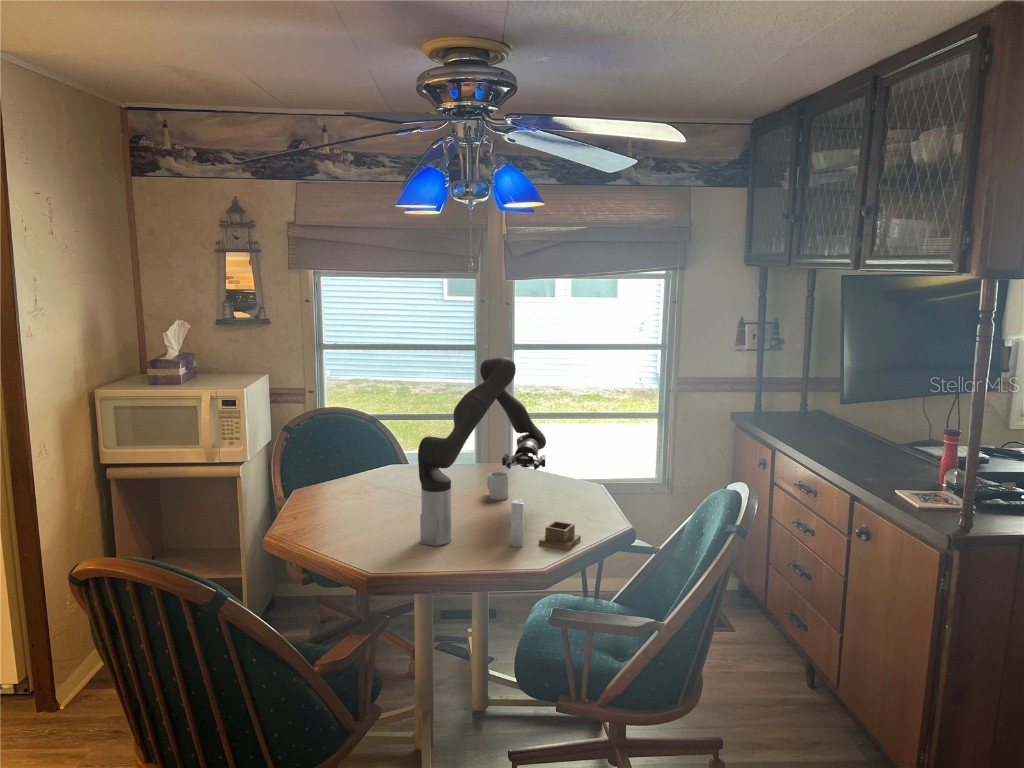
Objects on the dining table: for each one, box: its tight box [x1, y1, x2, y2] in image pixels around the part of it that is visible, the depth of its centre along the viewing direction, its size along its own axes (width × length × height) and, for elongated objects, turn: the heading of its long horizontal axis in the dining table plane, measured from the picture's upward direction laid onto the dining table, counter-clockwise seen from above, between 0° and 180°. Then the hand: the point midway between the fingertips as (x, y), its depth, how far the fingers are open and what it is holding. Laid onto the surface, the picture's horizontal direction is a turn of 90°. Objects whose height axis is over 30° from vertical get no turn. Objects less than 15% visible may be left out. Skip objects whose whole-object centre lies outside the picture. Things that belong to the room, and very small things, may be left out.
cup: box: [486, 471, 510, 501], centre depth 282 cm, size 7×10×9 cm
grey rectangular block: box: [510, 499, 525, 548], centre depth 233 cm, size 4×4×14 cm
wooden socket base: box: [538, 520, 582, 551], centre depth 236 cm, size 10×10×6 cm
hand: (522, 466), depth 241 cm, fingers open, 8 cm apart
